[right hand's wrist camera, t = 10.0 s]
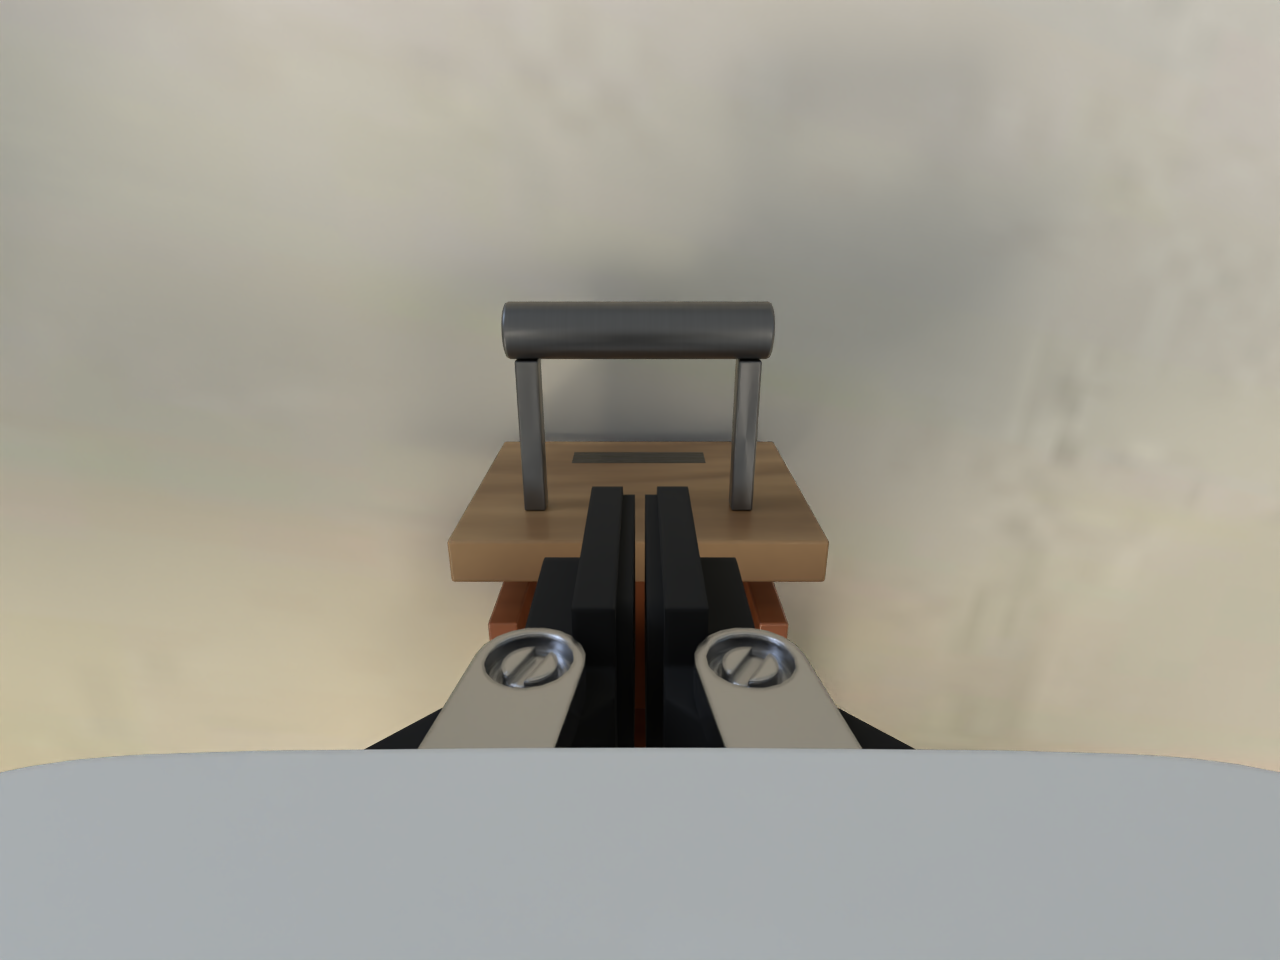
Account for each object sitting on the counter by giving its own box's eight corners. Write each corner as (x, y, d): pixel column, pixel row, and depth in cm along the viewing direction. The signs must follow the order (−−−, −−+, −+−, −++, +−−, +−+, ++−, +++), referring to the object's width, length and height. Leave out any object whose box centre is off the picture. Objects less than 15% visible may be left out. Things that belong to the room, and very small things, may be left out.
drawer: (491, 278, 23) (419, 314, 15) (785, 278, 23) (855, 314, 15) (524, 704, 29) (484, 875, 22) (753, 704, 29) (792, 875, 22)
